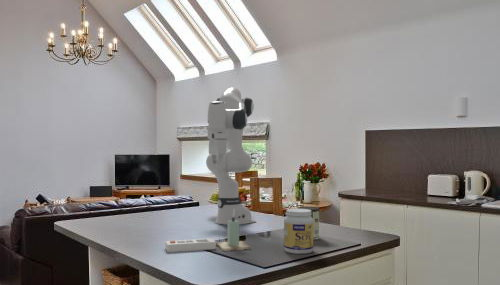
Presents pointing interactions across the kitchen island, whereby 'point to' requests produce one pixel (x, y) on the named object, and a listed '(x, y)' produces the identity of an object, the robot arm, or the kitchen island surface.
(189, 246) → the power strip
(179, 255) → the kitchen island surface
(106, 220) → the kitchen island surface
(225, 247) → the coaster
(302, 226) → the supplement tub
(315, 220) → the coffee can
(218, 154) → the robot arm
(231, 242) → the grey-green tall block
